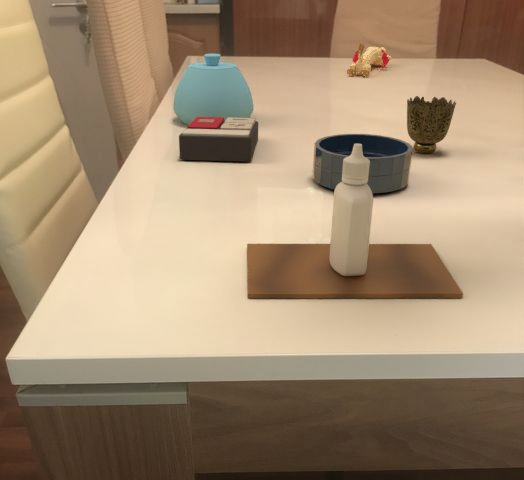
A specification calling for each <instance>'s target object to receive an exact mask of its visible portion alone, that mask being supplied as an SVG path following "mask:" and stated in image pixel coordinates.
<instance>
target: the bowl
mask: <svg viewBox="0 0 524 480" xmlns="http://www.w3.org/2000/svg"><path fill="white" fill-rule="evenodd" d="M356 143H358V144H362V152H363V156H364V157H366V158H367V159H369V160H370V165H369V175H368V182H367V184H368V186H369V187H370V189H371V191H372V194H373V195H374V194H384V193H391V192H394V191H399V190H402V189H403V188H404V187H406V186H408V183H409V181H410V180H409V179H410V173H411V166H412V165H411V164H412V158H413V150H414V147H413V146H412V145H411V144H410V143H409V142H407V141H405V140H402V139H399V138H395V137H392V136H386V135H381V134H380V135H379V134H371V133H341V134H340V133H339V134H333V135H328V136H327V135H326V136H324V137H321V138H318V139H317V140H316V141H315V142H314V143H313V146H314V147H313V164H312V178H313V181H314V182H316V183H317V184H318V185H319V186H322V187H325V188H327V189H331V190H334V191H335V188H336V186H337V185H338V184H339V183H340V182H343V181H342V171H343V160H344V158H346V157H349V156H350V155H351V154H352V150H353V147H354V144H356Z"/></svg>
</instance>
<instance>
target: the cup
mask: <svg viewBox="0 0 524 480" xmlns="http://www.w3.org/2000/svg"><path fill="white" fill-rule="evenodd" d="M406 105H407V107H406V129H407V135H408V137H409V138H410V139H411V140H412V141H413V142H414V143H413V146H412V147H413V150H414V151H415V153H418V154H422V155H429V154H434V153H435V152H436V150H437V148H438V147H437V144H438V143H440V142H441V141H444V139H445V138H446V136H447V134H448V133H449V130H450V126H451V123H452V119H453V115H454V113H455V107H456V105H457V102H456V100H454V101H453V99H450V100H448V99H446V97H444V96H443V97H440V98H437V97H436V96H434V97H433V98H432V99H431V101H429V100H428V101H426V100H425V97H424V96H421V98H420V97H419V95H416V96H414V98H412V97H409V98H407V101H406Z"/></svg>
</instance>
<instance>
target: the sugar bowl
mask: <svg viewBox="0 0 524 480" xmlns="http://www.w3.org/2000/svg"><path fill="white" fill-rule="evenodd" d="M203 57H204V61H203V62H193V63H190V64H189V65H188V66H187V67H186V68H185V70H184V72H183V73H182V76H181V77H180V79H179V82H178V84H177V87H176V89H175V91H174V92H175V93H174V98H173V112H174V114H175V115H176V117H177V118H178V119H179V121H181V123H182V124H184V125H187V126H188V125H189V124H190V123H191V122H192V121H193V120H194V119H195V118H196V117H224V120H226V119H227V118H251V116H252V114H253V113H254V99H253V95H252V92H251V89H250V87H249V84H248V82H247V80H246V79H245V77H244V75H243V73H242V72H241V70H240V69H239V67H238V66H237V64H235V63H231V62H221V60H220V59H221V54H220V53H205V54H203Z"/></svg>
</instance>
